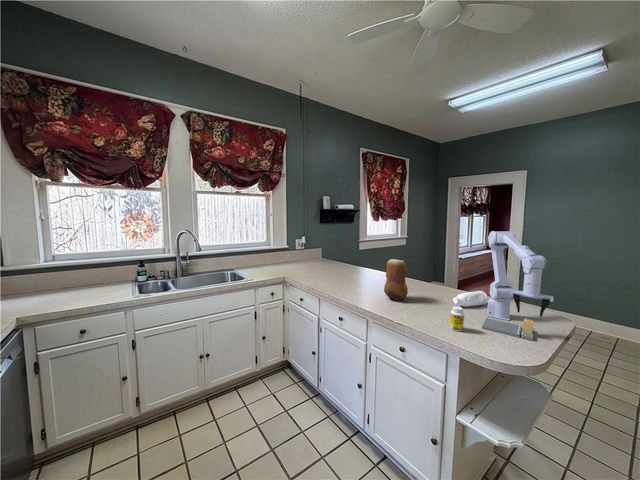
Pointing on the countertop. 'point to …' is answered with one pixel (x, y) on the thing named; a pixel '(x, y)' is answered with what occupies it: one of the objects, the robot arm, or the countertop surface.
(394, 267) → the butternut squash
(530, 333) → the stub
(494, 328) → the grey studded panel
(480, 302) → the white bottle
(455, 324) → the supplement bottle
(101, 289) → the countertop surface
